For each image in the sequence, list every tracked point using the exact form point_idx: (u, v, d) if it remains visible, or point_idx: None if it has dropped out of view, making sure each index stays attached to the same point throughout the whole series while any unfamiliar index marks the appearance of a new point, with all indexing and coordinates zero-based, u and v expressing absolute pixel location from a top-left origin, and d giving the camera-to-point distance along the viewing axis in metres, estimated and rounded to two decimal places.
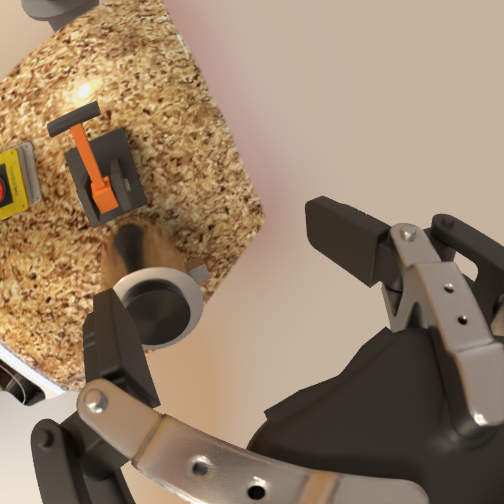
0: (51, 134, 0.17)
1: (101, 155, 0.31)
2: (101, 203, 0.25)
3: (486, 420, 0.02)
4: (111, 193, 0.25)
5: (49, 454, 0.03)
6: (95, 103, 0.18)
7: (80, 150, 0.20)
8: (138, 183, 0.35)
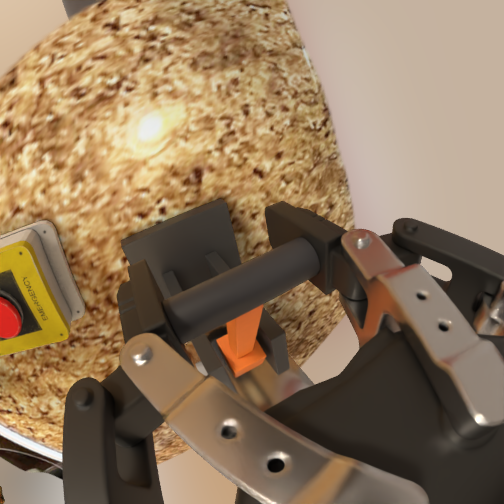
0: None
1: (189, 247, 0.22)
2: (242, 371, 0.16)
3: (486, 420, 0.02)
4: (263, 359, 0.16)
5: (84, 413, 0.04)
6: (312, 254, 0.09)
7: (240, 334, 0.11)
8: None
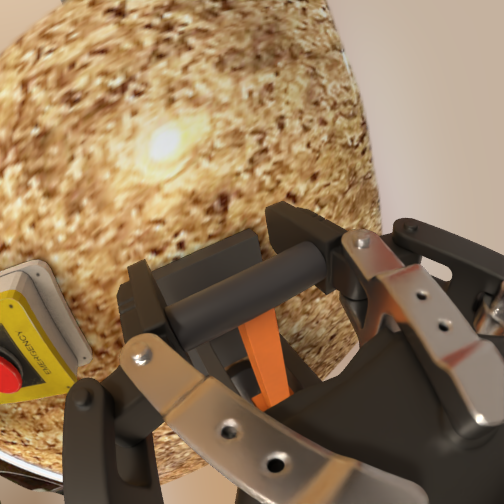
0: (189, 347, 0.07)
1: None
2: None
3: (486, 420, 0.02)
4: None
5: (84, 414, 0.04)
6: (314, 250, 0.08)
7: (262, 366, 0.10)
8: None
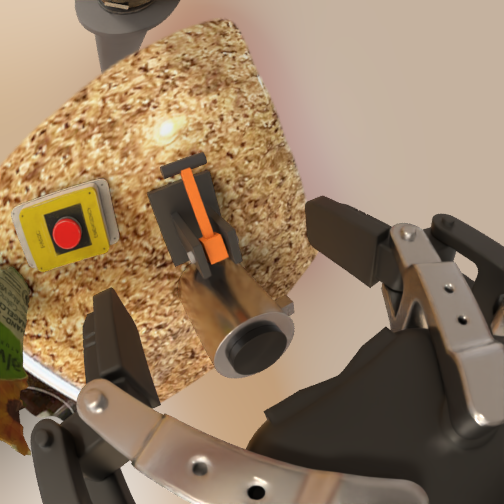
0: (164, 173, 0.27)
1: (187, 197, 0.36)
2: (211, 251, 0.30)
3: (486, 420, 0.02)
4: (221, 240, 0.30)
5: (49, 454, 0.03)
6: (201, 152, 0.28)
7: (190, 193, 0.28)
8: None
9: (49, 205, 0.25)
